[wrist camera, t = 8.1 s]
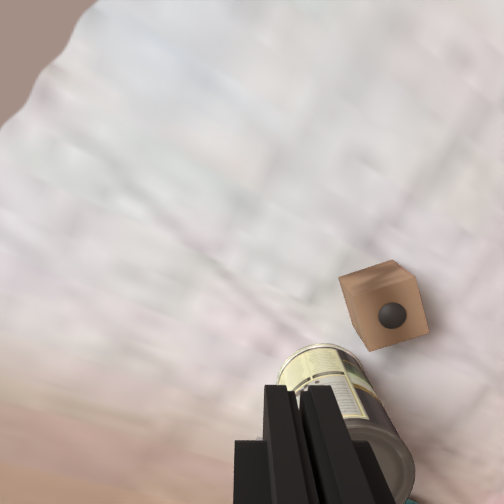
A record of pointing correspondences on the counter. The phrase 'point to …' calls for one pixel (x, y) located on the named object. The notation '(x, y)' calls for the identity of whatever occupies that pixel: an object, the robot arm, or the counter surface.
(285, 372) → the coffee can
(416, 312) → the walnut dotted block
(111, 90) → the counter surface
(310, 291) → the counter surface
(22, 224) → the counter surface
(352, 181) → the counter surface
